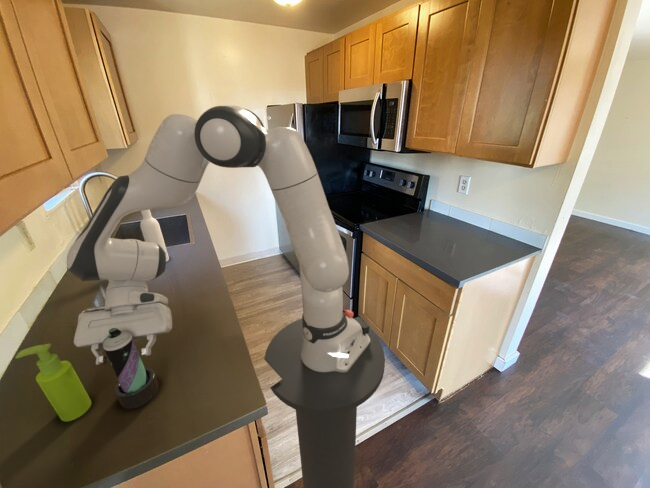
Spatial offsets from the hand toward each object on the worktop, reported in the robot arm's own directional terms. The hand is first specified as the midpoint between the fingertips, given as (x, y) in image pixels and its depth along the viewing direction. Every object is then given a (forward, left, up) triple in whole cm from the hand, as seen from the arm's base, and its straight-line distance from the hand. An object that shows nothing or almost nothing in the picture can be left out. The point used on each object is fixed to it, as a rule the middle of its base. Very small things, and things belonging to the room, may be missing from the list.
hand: (124, 360), depth 65 cm
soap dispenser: (+13, -7, -12) cm, 19 cm away
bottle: (-24, -81, -12) cm, 85 cm away
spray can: (0, -1, -12) cm, 12 cm away
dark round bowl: (0, -1, -12) cm, 12 cm away
